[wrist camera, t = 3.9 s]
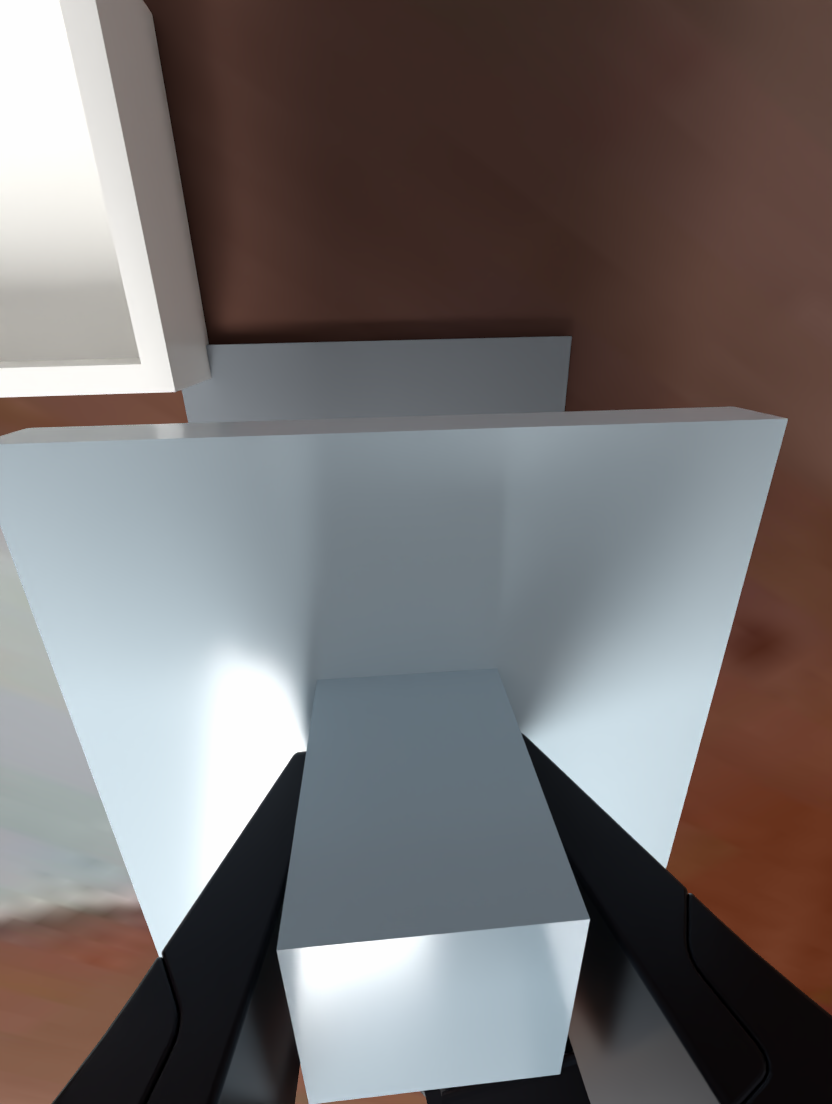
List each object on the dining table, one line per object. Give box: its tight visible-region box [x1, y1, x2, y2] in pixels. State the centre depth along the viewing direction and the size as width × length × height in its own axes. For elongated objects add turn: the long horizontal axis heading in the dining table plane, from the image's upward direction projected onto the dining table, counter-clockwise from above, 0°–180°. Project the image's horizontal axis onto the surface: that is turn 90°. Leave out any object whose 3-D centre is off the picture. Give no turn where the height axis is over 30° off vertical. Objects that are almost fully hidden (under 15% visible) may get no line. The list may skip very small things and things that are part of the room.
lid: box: [0, 407, 788, 1104], centre depth 8 cm, size 11×11×5 cm
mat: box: [182, 336, 572, 423], centre depth 20 cm, size 13×13×1 cm
